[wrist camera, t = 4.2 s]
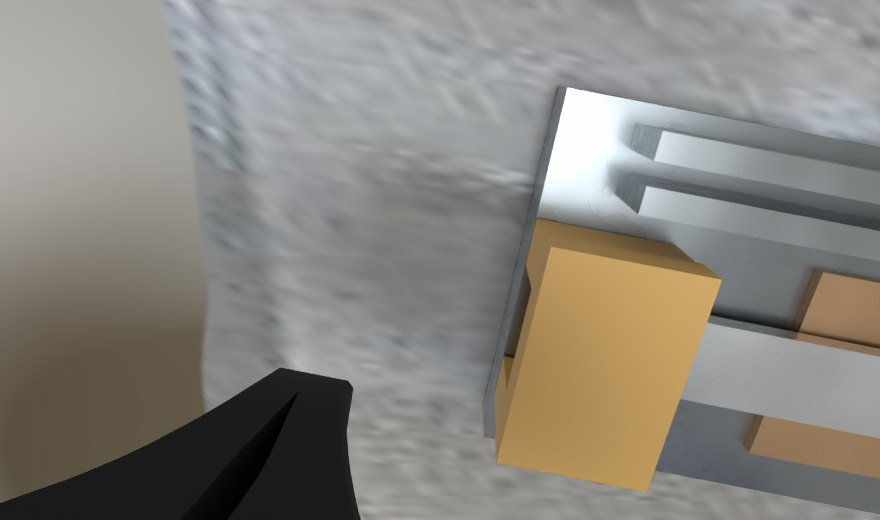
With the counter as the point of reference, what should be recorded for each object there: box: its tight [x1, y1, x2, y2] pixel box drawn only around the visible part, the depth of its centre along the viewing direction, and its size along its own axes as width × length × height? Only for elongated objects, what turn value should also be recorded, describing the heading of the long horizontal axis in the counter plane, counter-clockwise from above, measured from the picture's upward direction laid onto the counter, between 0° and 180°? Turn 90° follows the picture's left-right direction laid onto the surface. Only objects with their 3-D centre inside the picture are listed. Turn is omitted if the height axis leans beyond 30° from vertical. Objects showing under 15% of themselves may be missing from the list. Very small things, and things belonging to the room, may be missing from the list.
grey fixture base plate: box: [483, 86, 880, 514], centre depth 17 cm, size 11×20×4 cm, turn 80°
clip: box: [494, 219, 722, 492], centre depth 16 cm, size 6×4×3 cm, turn 170°
